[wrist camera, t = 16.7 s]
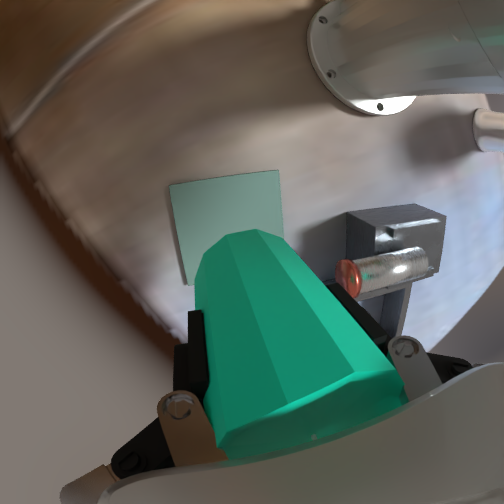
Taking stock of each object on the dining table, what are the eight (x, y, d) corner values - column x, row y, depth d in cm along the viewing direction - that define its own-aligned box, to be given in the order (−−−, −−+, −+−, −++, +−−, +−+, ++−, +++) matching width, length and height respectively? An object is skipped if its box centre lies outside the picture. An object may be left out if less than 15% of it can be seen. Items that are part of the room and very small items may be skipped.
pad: (169, 185, 22) (168, 185, 22) (277, 169, 23) (278, 170, 23) (188, 283, 25) (188, 285, 25) (284, 267, 27) (285, 268, 26)
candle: (174, 259, 15) (159, 498, 4) (278, 209, 15) (458, 371, 4) (223, 339, 17) (267, 531, 6) (312, 297, 17) (427, 460, 6)
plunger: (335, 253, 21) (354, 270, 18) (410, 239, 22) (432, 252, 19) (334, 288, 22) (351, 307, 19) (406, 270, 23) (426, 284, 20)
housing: (312, 216, 25) (340, 236, 20) (415, 203, 27) (450, 217, 22) (310, 391, 34) (324, 422, 29) (387, 365, 36) (407, 389, 31)
